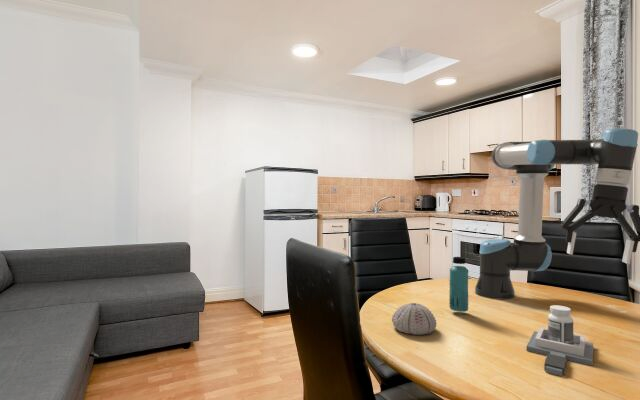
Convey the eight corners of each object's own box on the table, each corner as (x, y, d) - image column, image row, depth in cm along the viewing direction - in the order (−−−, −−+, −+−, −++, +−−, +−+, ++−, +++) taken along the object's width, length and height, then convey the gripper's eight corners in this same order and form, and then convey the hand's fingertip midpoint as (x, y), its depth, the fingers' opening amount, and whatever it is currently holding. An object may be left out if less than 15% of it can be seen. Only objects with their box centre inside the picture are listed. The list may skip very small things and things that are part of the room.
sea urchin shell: (435, 340, 102) (435, 312, 102) (388, 334, 107) (388, 307, 107) (437, 325, 115) (437, 300, 115) (395, 320, 120) (395, 296, 120)
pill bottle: (569, 342, 99) (569, 305, 99) (576, 350, 93) (576, 312, 93) (545, 339, 100) (545, 303, 100) (551, 347, 95) (551, 309, 95)
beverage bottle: (469, 312, 129) (469, 256, 129) (468, 317, 123) (468, 259, 123) (449, 309, 131) (450, 255, 131) (448, 314, 125) (448, 257, 125)
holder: (519, 365, 87) (519, 352, 87) (534, 335, 107) (534, 324, 107) (591, 384, 78) (591, 369, 78) (593, 347, 98) (593, 335, 98)
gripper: (563, 179, 102) (550, 252, 104) (674, 191, 93) (658, 270, 95) (556, 179, 109) (544, 247, 111) (659, 190, 100) (643, 263, 102)
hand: (597, 258), depth 103 cm, fingers open, 13 cm apart
